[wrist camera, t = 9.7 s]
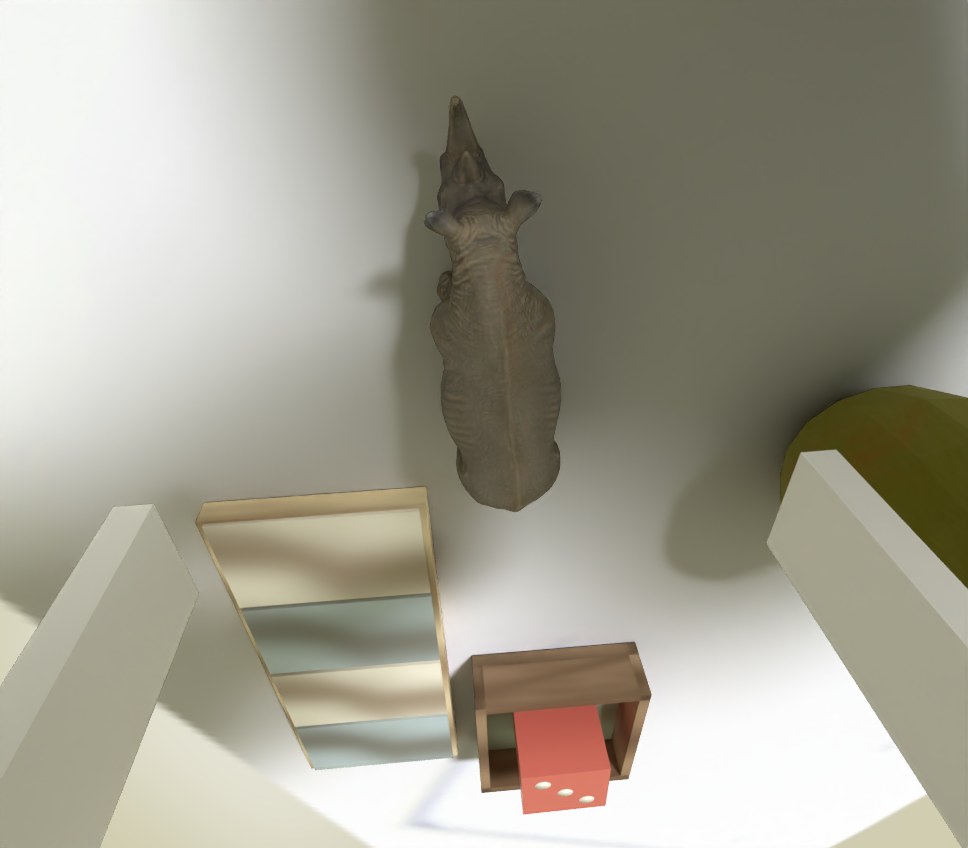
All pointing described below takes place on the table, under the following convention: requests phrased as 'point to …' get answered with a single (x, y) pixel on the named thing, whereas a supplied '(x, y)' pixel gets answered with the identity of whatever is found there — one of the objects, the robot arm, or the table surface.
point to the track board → (343, 619)
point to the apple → (903, 459)
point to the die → (561, 759)
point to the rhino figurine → (492, 333)
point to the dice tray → (558, 701)
